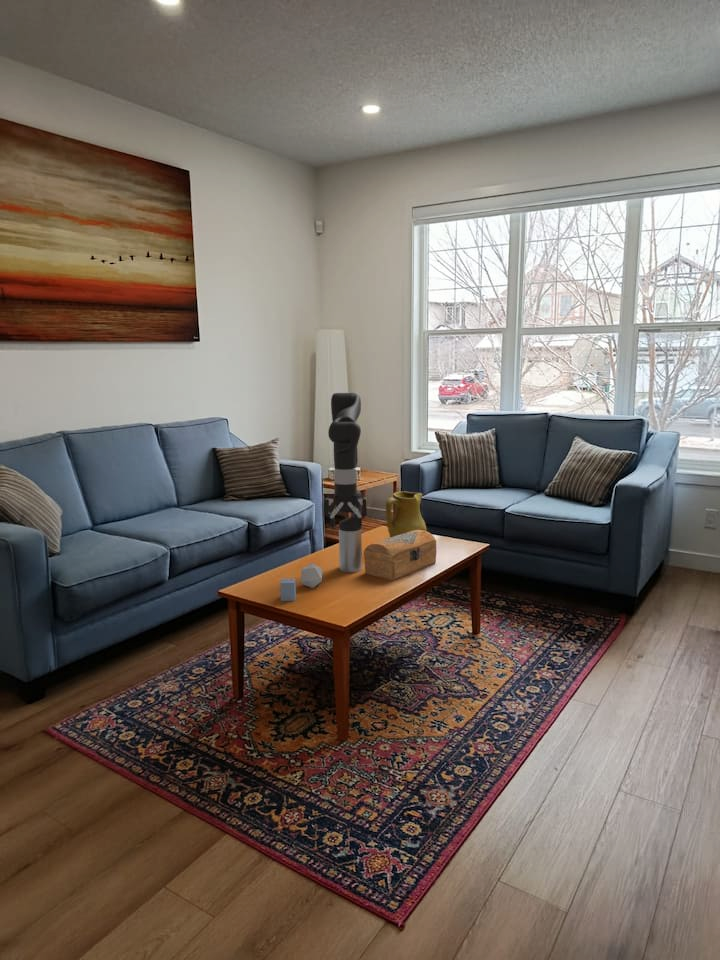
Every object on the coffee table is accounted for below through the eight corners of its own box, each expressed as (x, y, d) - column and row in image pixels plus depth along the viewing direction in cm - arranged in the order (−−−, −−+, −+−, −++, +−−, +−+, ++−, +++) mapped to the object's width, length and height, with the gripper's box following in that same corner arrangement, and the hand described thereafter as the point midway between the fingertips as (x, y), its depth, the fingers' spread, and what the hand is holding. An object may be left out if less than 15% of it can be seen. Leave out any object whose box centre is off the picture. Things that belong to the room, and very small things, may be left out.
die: (322, 589, 252) (327, 580, 261) (316, 567, 250) (322, 558, 260) (300, 593, 253) (306, 583, 263) (295, 570, 252) (301, 561, 261)
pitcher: (427, 551, 301) (427, 497, 297) (385, 551, 302) (385, 497, 297) (425, 541, 318) (425, 489, 313) (385, 541, 319) (385, 489, 314)
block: (282, 596, 247) (281, 578, 245) (296, 596, 247) (295, 578, 245) (280, 601, 242) (280, 583, 240) (294, 601, 242) (294, 582, 240)
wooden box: (395, 582, 261) (395, 548, 259) (363, 573, 272) (362, 540, 270) (439, 564, 283) (440, 532, 281) (408, 557, 294) (408, 526, 292)
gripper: (366, 479, 229) (366, 525, 232) (324, 479, 229) (325, 525, 232) (366, 483, 222) (367, 530, 225) (323, 483, 222) (324, 531, 225)
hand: (346, 528), depth 229 cm, fingers open, 8 cm apart
